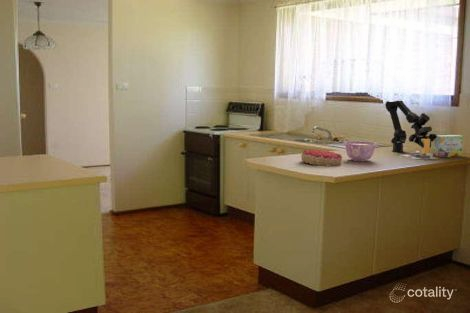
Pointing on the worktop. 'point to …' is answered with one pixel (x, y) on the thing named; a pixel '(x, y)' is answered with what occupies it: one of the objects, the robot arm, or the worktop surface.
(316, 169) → the worktop surface
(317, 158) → the cake
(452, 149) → the snack box
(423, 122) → the robot arm
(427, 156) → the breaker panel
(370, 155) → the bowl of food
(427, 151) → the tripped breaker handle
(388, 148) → the worktop surface
